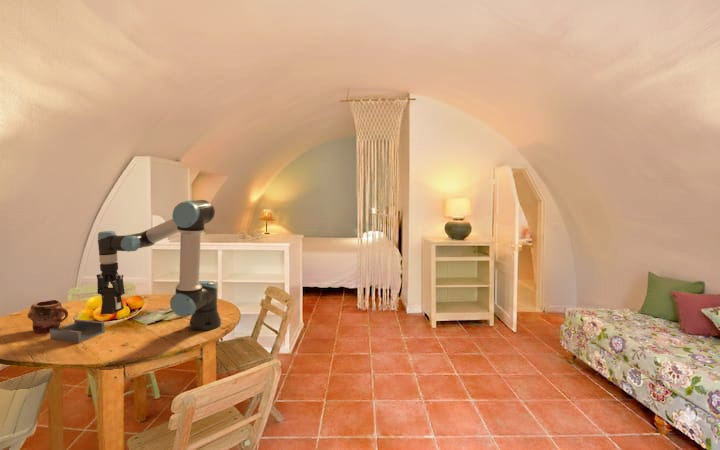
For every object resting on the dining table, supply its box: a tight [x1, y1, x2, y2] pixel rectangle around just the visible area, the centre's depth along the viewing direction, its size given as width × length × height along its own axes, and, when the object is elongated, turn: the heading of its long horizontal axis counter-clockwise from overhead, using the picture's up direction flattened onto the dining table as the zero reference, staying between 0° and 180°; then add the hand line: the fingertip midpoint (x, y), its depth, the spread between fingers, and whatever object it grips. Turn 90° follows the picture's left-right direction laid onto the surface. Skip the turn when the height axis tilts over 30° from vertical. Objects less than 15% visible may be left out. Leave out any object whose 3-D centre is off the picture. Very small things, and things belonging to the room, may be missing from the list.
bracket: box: [49, 318, 106, 344], centre depth 191 cm, size 16×14×5 cm
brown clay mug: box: [27, 299, 69, 335], centre depth 196 cm, size 20×12×14 cm, turn 89°
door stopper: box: [100, 287, 125, 315], centre depth 200 cm, size 9×6×12 cm, turn 178°
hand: (112, 308), depth 200 cm, fingers closed on door stopper, 6 cm apart
